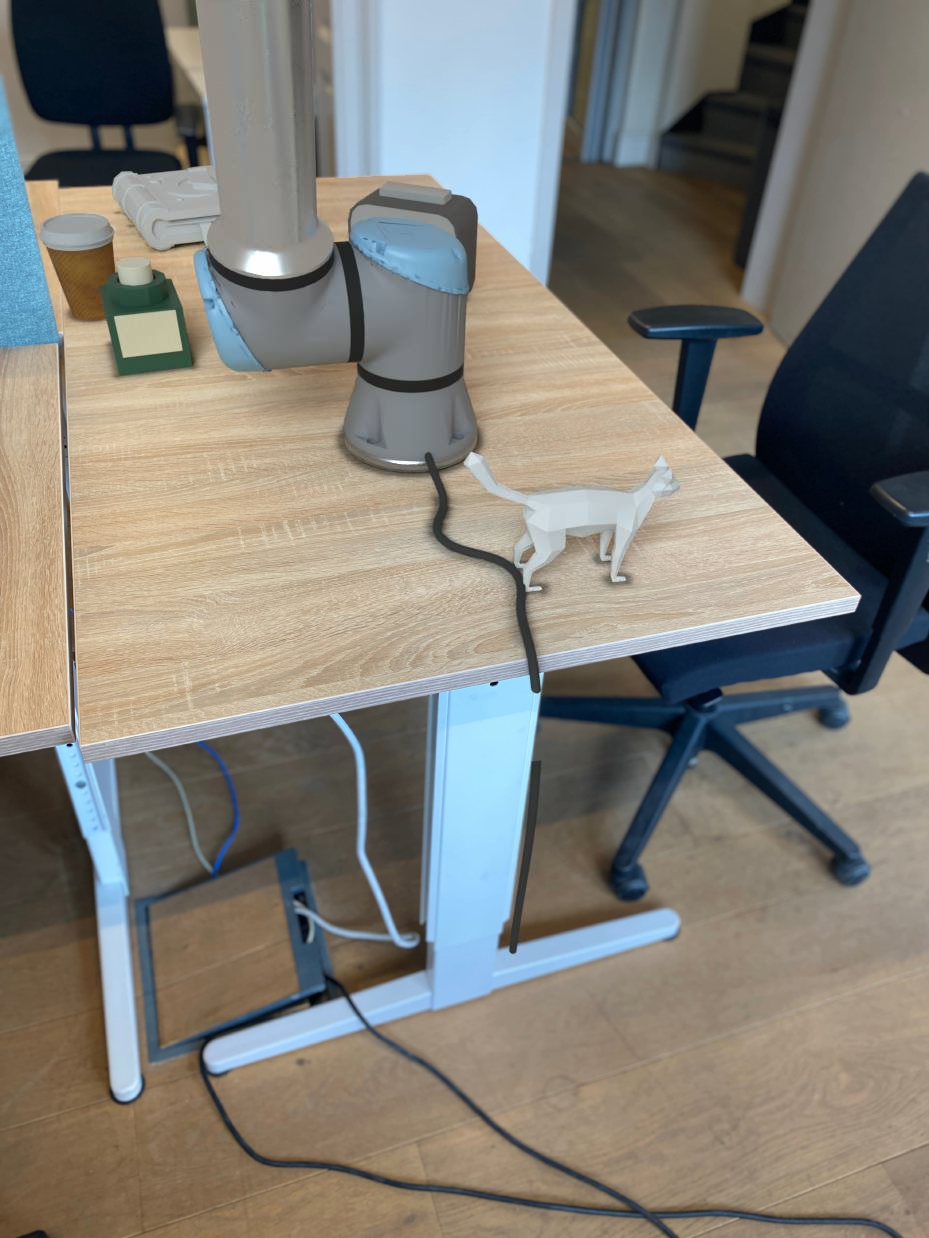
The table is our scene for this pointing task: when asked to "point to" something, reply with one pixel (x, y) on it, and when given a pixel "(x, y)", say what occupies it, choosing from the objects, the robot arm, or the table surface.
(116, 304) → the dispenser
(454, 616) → the table surface
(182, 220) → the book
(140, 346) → the bottle label
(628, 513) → the cat figurine
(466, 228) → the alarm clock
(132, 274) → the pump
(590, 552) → the table surface
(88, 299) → the disposable coffee cup
